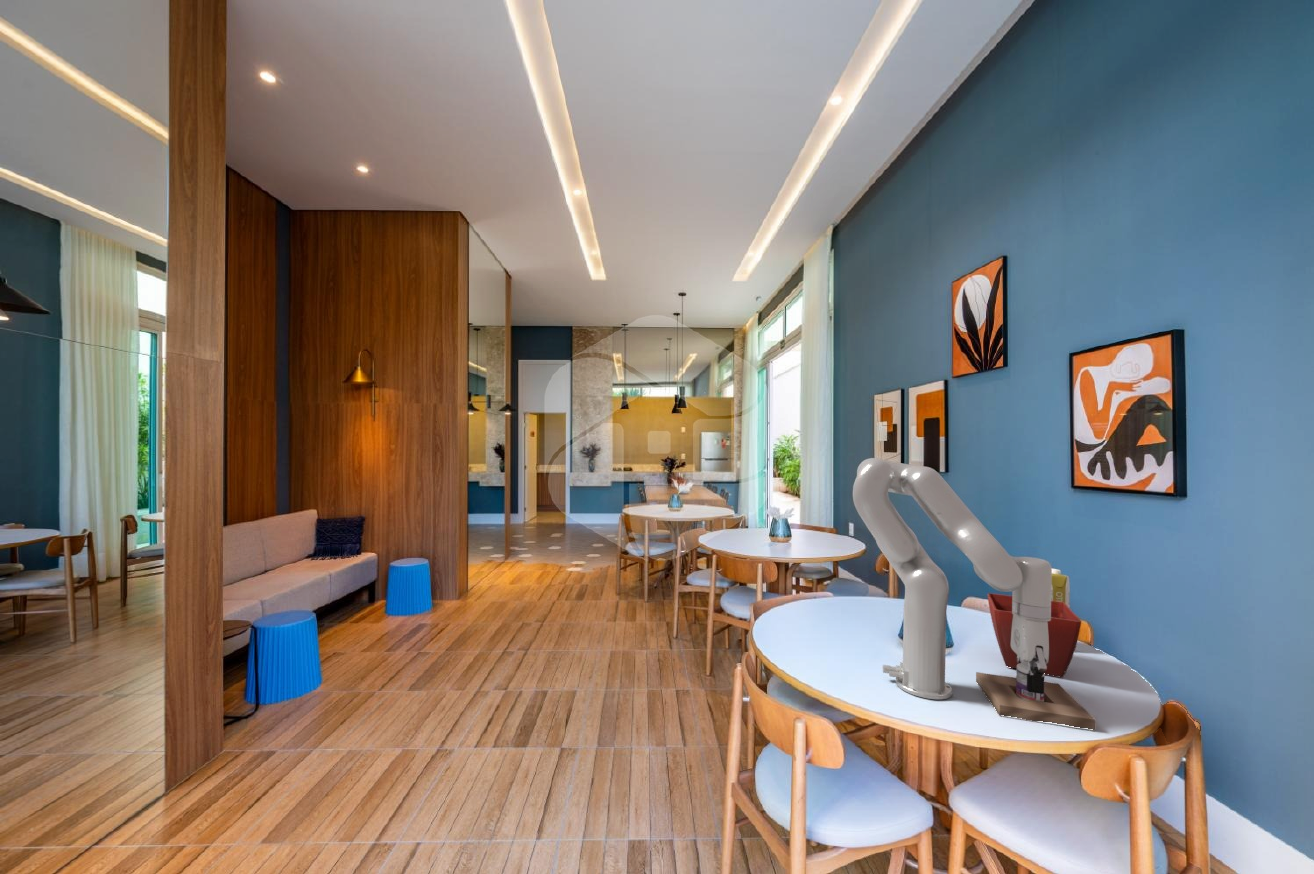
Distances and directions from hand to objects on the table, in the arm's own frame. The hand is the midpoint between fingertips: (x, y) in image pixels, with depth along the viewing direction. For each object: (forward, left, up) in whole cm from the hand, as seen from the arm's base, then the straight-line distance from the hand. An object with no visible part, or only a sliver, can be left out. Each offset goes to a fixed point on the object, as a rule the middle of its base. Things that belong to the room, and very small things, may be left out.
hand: (1029, 685), depth 122 cm
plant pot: (+9, +27, -5) cm, 29 cm away
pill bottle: (0, 0, -3) cm, 3 cm away
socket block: (0, 0, -4) cm, 4 cm away
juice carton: (+21, +47, -5) cm, 52 cm away
